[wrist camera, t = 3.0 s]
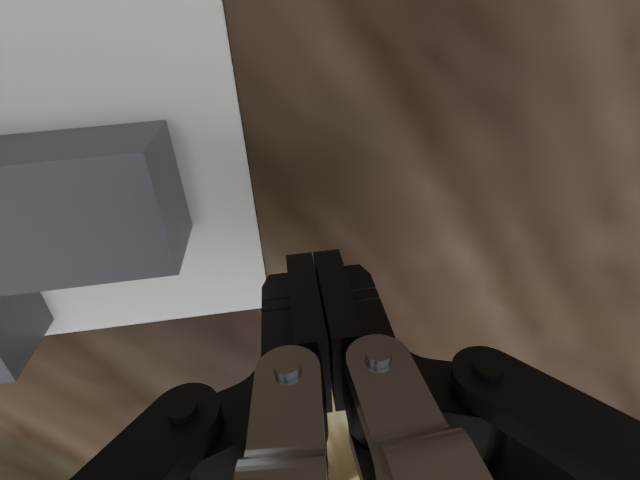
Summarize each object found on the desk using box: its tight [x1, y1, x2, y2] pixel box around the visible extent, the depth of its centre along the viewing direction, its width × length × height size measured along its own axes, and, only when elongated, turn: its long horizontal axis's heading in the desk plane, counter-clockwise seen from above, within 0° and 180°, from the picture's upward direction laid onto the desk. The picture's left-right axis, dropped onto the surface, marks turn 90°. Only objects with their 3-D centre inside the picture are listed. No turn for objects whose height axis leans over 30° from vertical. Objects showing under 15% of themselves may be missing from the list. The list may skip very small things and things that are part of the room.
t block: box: [0, 120, 193, 384], centre depth 16 cm, size 14×12×4 cm
